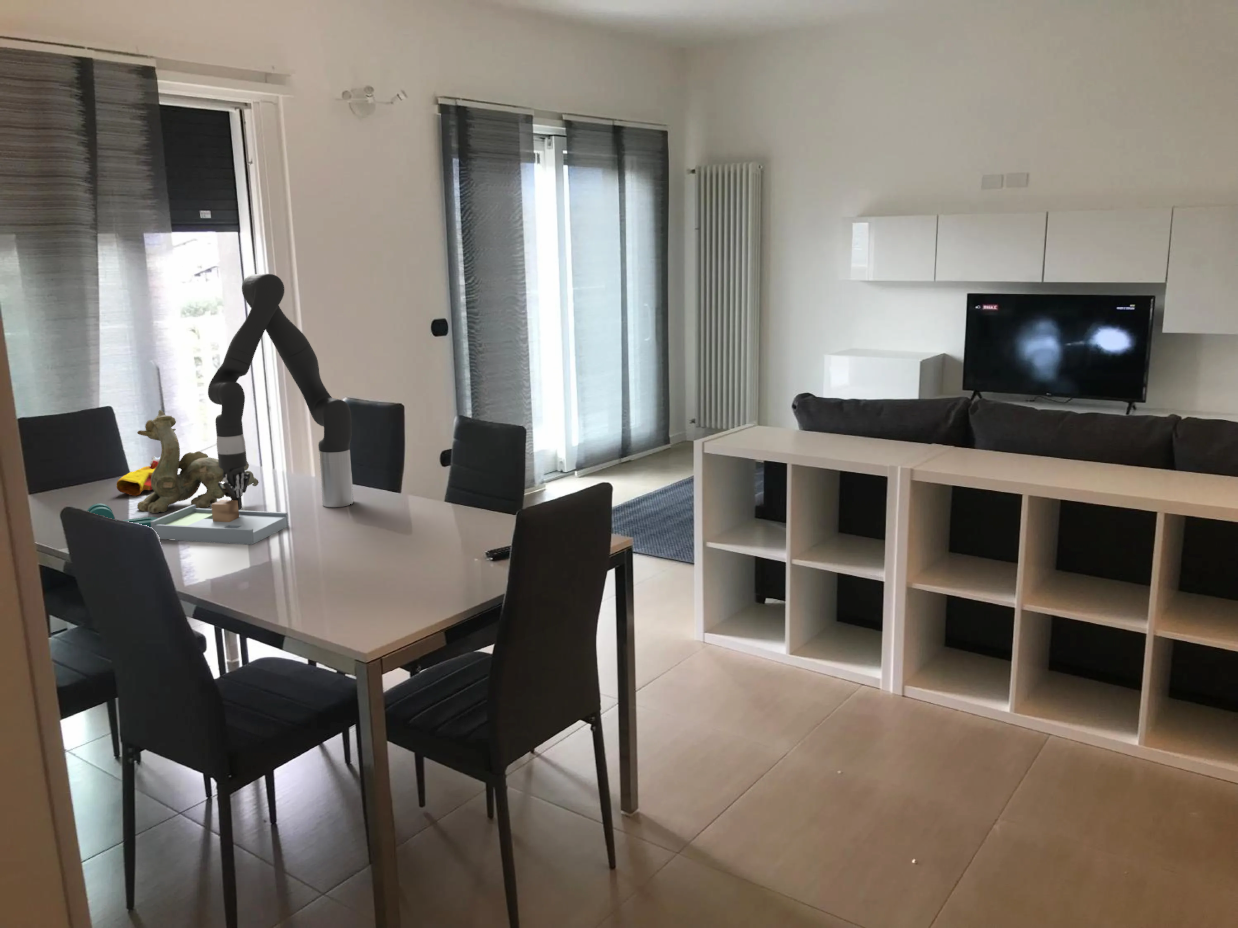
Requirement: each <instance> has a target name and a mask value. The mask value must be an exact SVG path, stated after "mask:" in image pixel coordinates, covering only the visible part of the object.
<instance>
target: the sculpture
mask: <svg viewBox="0 0 1238 928" xmlns="http://www.w3.org/2000/svg"><path fill="white" fill-rule="evenodd" d="M176 423H177V421H176V419H175V417H173V416H172V415H166V414H165V412H164V411H163V410H161V409H160V410H158V414H157V416H156V417H154V418H153V419H149V420H147V421H146V423H145V426H144V427H145V430H138V431H137V434H138V435H141V436H143V437H147V438H149V439H150V440H154V441H160V445H161V454H160V456H161V457H160V456H159V457H160V460H159V463H158V465H157V467H156V469H155V470H154V471H153V473H152V476H151V487H152V491H153V492H152V493H151V494H149V495H148V496H146V497H145V498H144V499H143V500H141V501H138V503H137V506H136V507H137V510H138V511H142V512H149V513H151V514H159V512H161V513H163V512H167V511H168V506H171V505H173V504H176V503H177V502H183V501H186V500H189V499H190V498H192V497H193V496H194V495H195V494H196V493H197V492H198V490H199V488H200V486H201V484H202V485H203V486H204V487H205V488H206V492H205V493H201V494H199V495H197V497H194V498H192V499H191V500H190V506H191V505H196V508H203V509H208V508H209V507H210V506H211V504H213V503H215V502H218V500H221V499H222V498H224V497H225V494H224V493H223V492H222V490H221V489H220V487H219V486H218V483H219V482H222V480H223V469H222V468H220V467H219V462H218V458H215V457H209V456H208V454H206V453H203V452H202V451H200V450H198V451H197V450H196V452H188V453H185V454H184V455H183V456H182V457H181V454H180V453H181V449H180V443H179V438H178V437H177V434H176V432H175V431H176V428H175V427H174V428H172V427H173V426H175V425H176ZM180 458H181V459H180ZM249 466H250V465H249V462H248V461H247V465H246V466H245V467H244V469H245V473H247V474H250V479H249V482H248V486H251V485H252V486H253V487H257V486H258V485H259V483H260V481H259V480H258V479H257V478H256V477H255V476H254V473H253V472H252V471H250V470H248V469H249ZM179 469H180V471H179ZM248 486H247V487H248Z"/></svg>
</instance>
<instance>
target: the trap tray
mask: <svg viewBox="0 0 1238 928" xmlns="http://www.w3.org/2000/svg"><path fill="white" fill-rule="evenodd" d="M157 518H158V519H155V520H153V521H151V527H152V528H153V529H154V530H155V531H156V532H157V534H158V535H159V537H160V539H175V540H174V541H178V540H185V542H198V543H201V542H202V543H214V542H215V544H217V543H219V544H235V545H249V546H250V545H254V544H256V543H257V542H260V541H262V540H264V539H266V538H268V537H269V536H271V535H274V534H276V533H277V532H280V531H282V530H284V529H285V528H287V527H289V515H288V512H284V511H263V510H259V511H258V510H242V509H240V510H239V518H237V519H235V520H233V521H230V522H216V521H213V517H212V508H196V505H191V504H190V505H189V506H186V507H184V508H181V509H179V510H177V511H174V512H171V513H168V514H166V515H163V516H161V517H157ZM160 539H159V540H160Z"/></svg>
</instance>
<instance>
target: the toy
mask: <svg viewBox="0 0 1238 928" xmlns="http://www.w3.org/2000/svg"><path fill="white" fill-rule="evenodd" d="M160 457H161V455H160V456H159V457H156V456H152V457H151V461H150V463H149V465H148V466H143V467H141V468H138V469H136V470H135V471H130V472H128V473H126V474H124V475H123V476H122V477H120V478H118V480H117V481H116V489H117V491H118V492H120V493H122V494H127V495H129V496H133V497H137V496H140V495H141V493H142V492H143V491H144V490H145V491H153V489H152V487H151V476H152V473H153V471H154V470H155V469H156V467H157V465H158V463H159V460H160Z"/></svg>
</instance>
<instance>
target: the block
mask: <svg viewBox="0 0 1238 928" xmlns="http://www.w3.org/2000/svg"><path fill="white" fill-rule="evenodd" d="M210 506H211V509H212V517H213V521H216V522H230V521H233V520H235V519H237V518H239V510H238V501H236V500H231V499H219V500H217V501H216V502H214V503H210Z"/></svg>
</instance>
